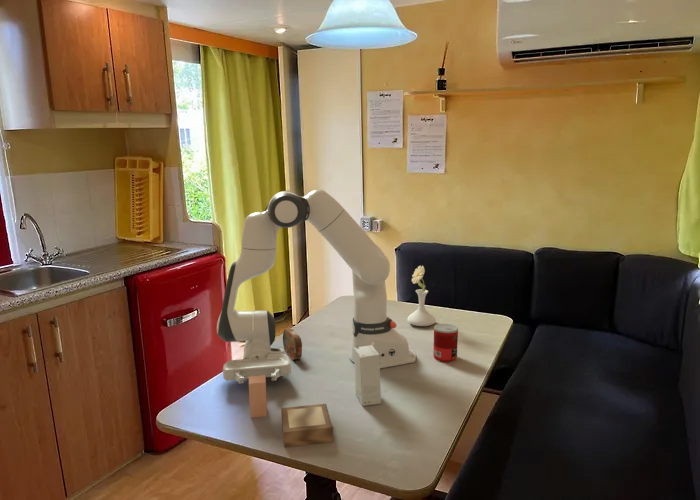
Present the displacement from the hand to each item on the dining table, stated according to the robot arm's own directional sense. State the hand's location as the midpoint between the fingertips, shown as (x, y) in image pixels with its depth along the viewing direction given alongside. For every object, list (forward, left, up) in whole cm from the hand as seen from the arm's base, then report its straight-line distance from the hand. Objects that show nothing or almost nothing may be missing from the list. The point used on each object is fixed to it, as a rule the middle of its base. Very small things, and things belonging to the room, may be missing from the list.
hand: (257, 379), depth 153 cm
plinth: (-12, +21, -6) cm, 25 cm away
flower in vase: (-65, -49, -6) cm, 82 cm away
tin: (-12, -29, -6) cm, 32 cm away
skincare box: (-31, +7, -6) cm, 32 cm away
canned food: (-63, -16, -6) cm, 65 cm away
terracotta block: (0, +9, -6) cm, 10 cm away
